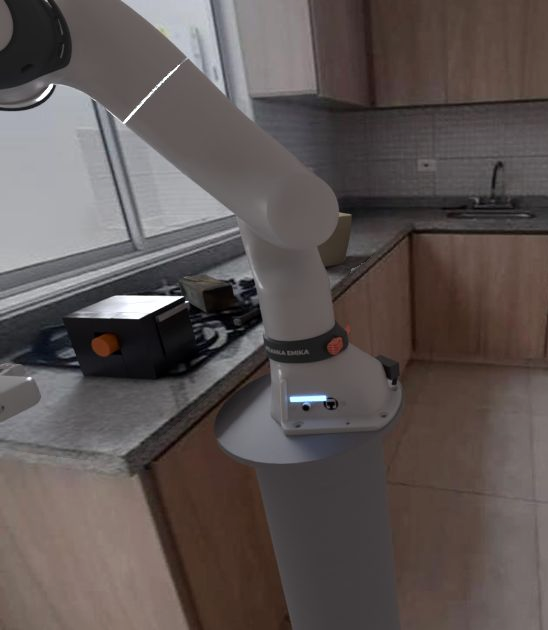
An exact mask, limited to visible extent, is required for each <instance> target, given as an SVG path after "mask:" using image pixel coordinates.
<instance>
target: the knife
mask: <svg viewBox="0 0 548 630" xmlns="http://www.w3.org/2000/svg"><path fill="white" fill-rule="evenodd" d="M258 316H262V314H261V309H260V307H259V308H258V307H254V308H251V309H248V312H246V313H245V314H242V315H240V316H237V317H236V318H233V320H232V321H233V322H232V323H233V324H234V326H238V327H239V326H241V325H244V324H245V323H246V322H248V321H249V320H252V319H253V318H255V317H258Z"/></svg>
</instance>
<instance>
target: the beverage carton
mask: <svg viewBox="0 0 548 630" xmlns="http://www.w3.org/2000/svg"><path fill="white" fill-rule="evenodd" d="M178 286H179V289H180V294H181V296H184V297H185V301H189V304H190V305H192V306H194V307H195V308H198V309H199V310H201V311H203V312H205V313H206V314H210V313H214V312H218V311H221V310H226V309H230V308H233V307H236V299H235V293H234V289H233V286H232V284H230V283H227V282H224V281H222V280H220V279H217V278H215V277H214V276H213V277H212V276H210V275H208V274H199V275H194V276H190V275H189V276H184V277H182V278H180V279H178Z"/></svg>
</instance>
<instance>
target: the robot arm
mask: <svg viewBox="0 0 548 630" xmlns="http://www.w3.org/2000/svg"><path fill="white" fill-rule="evenodd" d="M57 86H63V87H67V88H70V89H74V90H76V91H78V92H80V93H82V94H84V95H86V96H87V97H89V98H90V99H92V100H93V101H95V102H96V103H98V104H99V105H100V106H102V108H104V109H106V111H108V113H110V114H111V115H112V116H114V118H116V119H117V120H118V121H119V122H120V123H121V124H124V126H125V127H126V128H127V129H129V130H130V131H131V132H132V133H134V135H136V136H137V137H139V138H140V140H142V141H143V142H144V143H145V144H147V145H148V146H149V147H151V148H152V149H153V150H154V151H155V152H156V153H158V154H159V155H160V156H161V157H163V159H165V160H166V161H167V162H169V163H170V164H171V165H172V166H173V167H174V168H175V169H177V170H178V171H179V172H181V173H182V174H183V175H184V176H186V177H187V179H189V180H191V181H192V182H193V183H195V185H197V186H199V187H200V188H201V189H202V190H203V191H205V192H206V193H208V194H209V195H210V196H211V197H213V198H214V199H215V200H216V201H217V202H219V203H220V204H221V205H223V207H224V208H226V209H227V210H229V211H230V212H231V213H233V214H234V215H235V218H236V222H237V227H238V229H239V234H240V238H241V241H242V244H243V248H244V252H245V255H246V259H247V262H248V265H249V269H250V271H251V274H252V278H253V281H254V285H255V289H256V294H257V299H258V305H259V308H260V309H261V320H262V325H263V329H264V331H263V332H262V338H263V346H264V351H265V355H266V358H267V359H268V361H269V365H270V366H269V367H270V373H271V383H272V391H271V404H270V414H271V416H272V418H273V419H274V420H276V421H277V422H278V423H279V424H280V425H281V427H282V431H283V433H284V434H285V435H307V434H326V433H346V432H365V431H377V430H380V429H381V428H383V427H384V426H386V425H387V424H388V423H389V422H390V421H391V420H392V419H393V417H394V416H395V414H396V413H397V411H398V409H399V407H400V403H401V399H402V392H401V388H400V385H399V384H398V383H397V379H398V378H399V377H400V376H401V371H400V361H399V362H398V361H396V360H394V359H392V358H389V357H387V356H385V355H382V354H379V355H376V356H372V355H370V354H369V353H367V352H365V351H364V350H362V349H360V348H359V347H357V346H355V344H352V343H351V342H349V334H350V332H351V325H350V324H347V326H346V327H345V328H343V327H342V326H341V325H340V324H339V323H338V321H337V320H336V319H335V318H336V317H335V310H334V303H333V296H332V289H331V281H330V280H331V279H330V276H329V273H328V271H327V269H326V267H324V265H323V262H322V260H321V257H320V254H319V251H318V248H317V246H319V245H321V244H322V243H324V242H325V241H326V240H328V239H329V237H330V236H331V235H332V234H333V232H334V230H335V228H336V226H337V223H338V219H339V213H340V206H339V202H338V198H337V197H336V194H335V192H334V191H333V189H332V188H331V186H330V185H329V184H328V183H327V182H325V181H324V180H323V179H322V178H321V177H320V176H319V175H317V174H316V173H315V172H313V171H312V170H311V169H310V168H309V167H307V165H305V164H304V163H303V162H302V161H301V160H300V159H299V158H297V157H296V156H295V155H294V154H293V153H292V152H291V151H290V150H289V149H287V148H286V147H285V146H284V145H283V144H282V143H280V142H279V141H278V140H277V139H275V138H274V137H273V136H272V135H271V134H270V133H268V132H267V131H266V130H264V129H263V128H262V127H261V126H260V125H258V124H257V123H256V122H254V121H253V120H252V119H251V118H250V117H248V115H246V114H245V113H244V112H243V111H242V110H241V109H240V108H238V106H236V104H234V102H233V101H231V99H230V98H229V97H228V96H227V95H225V93H224V92H223V91H222V90H220V88H218V86H217V85H216V84H215V83H214V82H213V81H212V80H211V79H210V78H209V77H208V76H207V75H206V74H205V73H204V72H203V71H202V70H201V69H200V68H199V67H198V66H197V65H196V64H195V63H194V62H192V60H191V59H190V58H188V56H187V55H186V54H185V53H184V52H182V50H181V49H180V48H179V47H178V46H176V45H175V44H174V43H173V42H172V41H171V40H170V39H169V38H168V37H167V36H166V35H165V34H164V33H163V32H161V31H160V30H159V29H158V28H157V27H156V26H154V25H153V24H152V23H151V22H150V21H148V20H147V19H146V18H144V17H143V16H142V15H141V14H140V13H138V12H137V11H136V10H134V9H133V8H132V7H131V6H129V5H128V4H127V3H126V2H125V1H122V0H0V112H23V111H29V110H32V109H35V108H37V107H39V106H41V105H43V104H44V103H45V102H47V101H48V100H49V99H50V98H51V97H52V95H53V94H54V93H55V90H56V88H57ZM25 375H26V369H25V366H24V365H23V364H21V363H2V364H0V423H2V422H4V421H6V420H9V419H11V418H13V417H15V416H17V415H19V414H21V413H23V412H25V411H27V410H29V409H31V408H32V407H33V408H34V407H35V406H36V405H38V404H39V403H40V402H41V400H42V394H41V391H40V389H39V386H38V384H37V382H36V380H35V379H34V378H33V377H31V376H25ZM387 379H389V380H387ZM391 380H392V381H391ZM398 380H399V379H398Z"/></svg>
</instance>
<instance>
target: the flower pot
mask: <svg viewBox="0 0 548 630" xmlns="http://www.w3.org/2000/svg"><path fill="white" fill-rule="evenodd" d="M352 217H353V216H352V213H351V214H350V213H345V212H339V219H338V223H337V226H336V228H335V230H334V232H333V234H332V235H331V236H330V237H329V239H328V240H326V241H325V242H324V243H322V244H321V245H319V246H317V248H318V251H319V254H320V257H321V260H322V262H323V265H324V267H325V268H327V267H332V266H333V267H334V266H337V265H342V264H344V263H345V260H346V257H347V252H348V248H349V244H350V239H351V230H352V221H353V220H352Z"/></svg>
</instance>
